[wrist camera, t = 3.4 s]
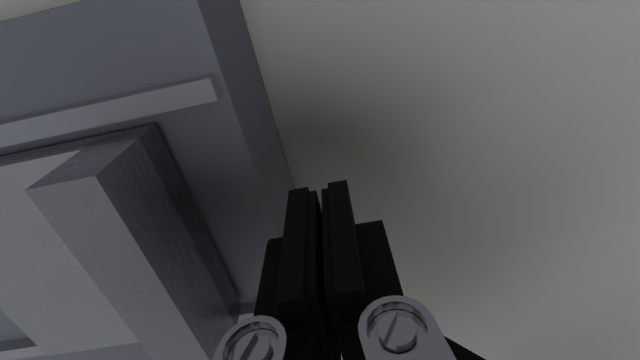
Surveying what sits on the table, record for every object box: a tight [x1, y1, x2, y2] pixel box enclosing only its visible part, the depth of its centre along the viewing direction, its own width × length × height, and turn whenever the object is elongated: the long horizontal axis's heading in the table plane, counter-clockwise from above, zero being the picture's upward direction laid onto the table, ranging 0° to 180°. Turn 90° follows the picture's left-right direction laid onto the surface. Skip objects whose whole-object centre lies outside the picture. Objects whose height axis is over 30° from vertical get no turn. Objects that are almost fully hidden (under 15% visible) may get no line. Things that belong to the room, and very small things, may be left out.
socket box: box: [0, 0, 294, 360], centre depth 14 cm, size 14×18×6 cm
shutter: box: [0, 124, 242, 360], centre depth 10 cm, size 8×8×3 cm
